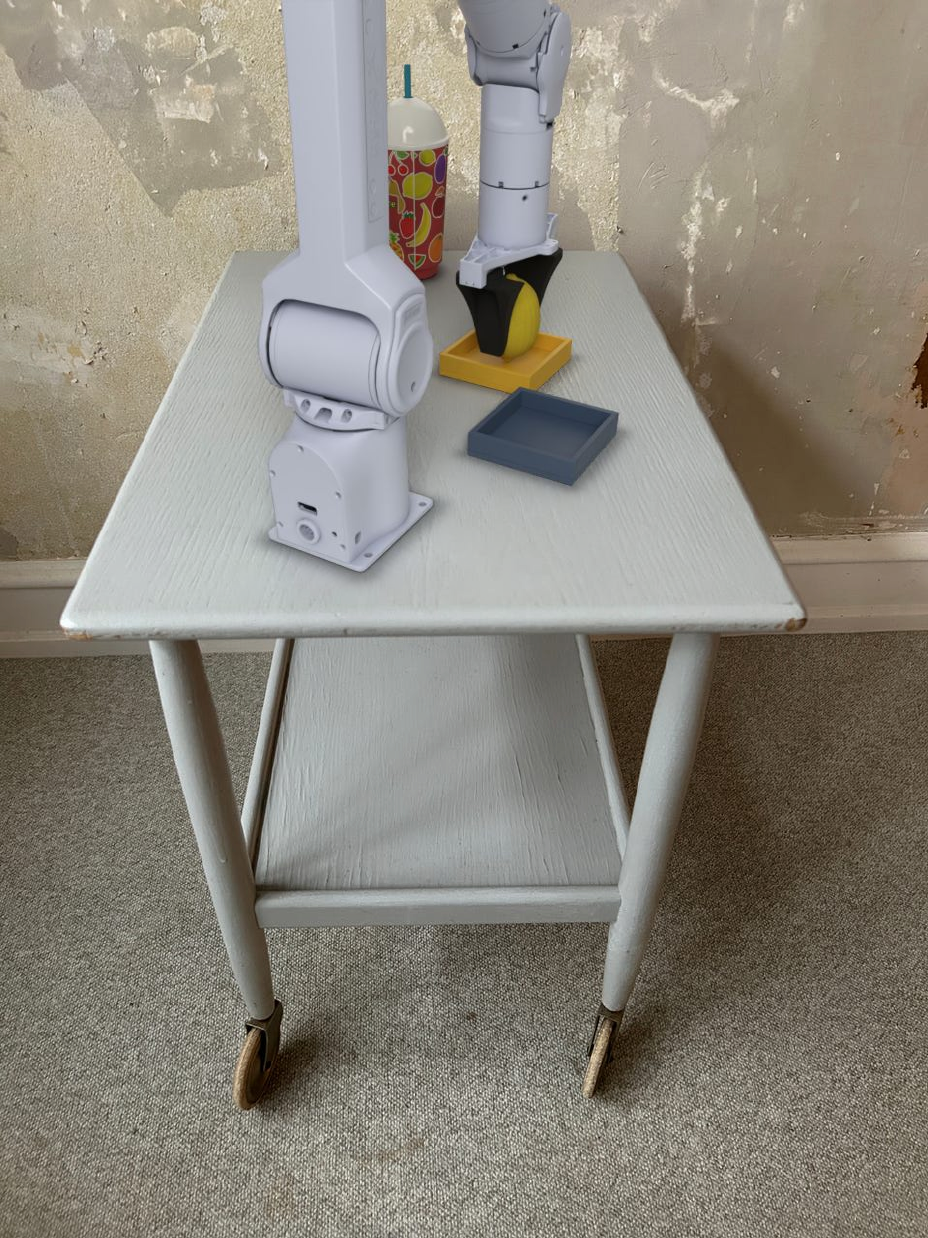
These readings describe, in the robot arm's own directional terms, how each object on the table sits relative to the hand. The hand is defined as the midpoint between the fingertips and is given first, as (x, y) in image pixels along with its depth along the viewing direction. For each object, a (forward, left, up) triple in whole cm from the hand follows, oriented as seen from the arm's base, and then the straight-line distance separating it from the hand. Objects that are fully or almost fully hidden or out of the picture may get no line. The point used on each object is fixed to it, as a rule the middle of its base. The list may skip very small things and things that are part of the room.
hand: (507, 340), depth 81 cm
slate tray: (-11, -9, -2) cm, 14 cm away
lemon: (0, 0, -2) cm, 2 cm away
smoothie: (+16, +20, -3) cm, 26 cm away
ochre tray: (0, 0, -2) cm, 2 cm away
